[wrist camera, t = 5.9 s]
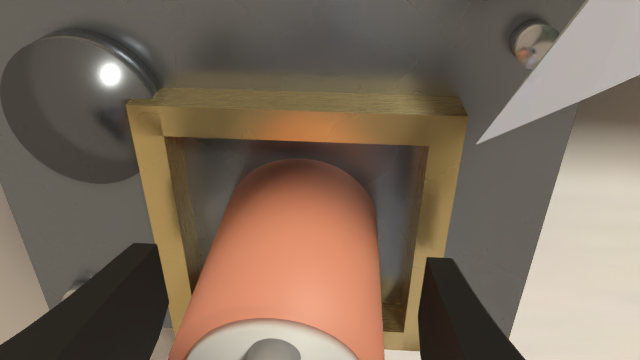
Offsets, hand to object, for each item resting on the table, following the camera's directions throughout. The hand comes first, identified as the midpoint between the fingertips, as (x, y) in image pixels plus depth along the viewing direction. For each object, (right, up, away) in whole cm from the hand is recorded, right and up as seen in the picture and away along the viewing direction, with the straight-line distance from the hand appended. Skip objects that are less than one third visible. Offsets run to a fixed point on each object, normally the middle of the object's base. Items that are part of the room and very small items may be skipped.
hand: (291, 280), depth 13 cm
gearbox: (-1, +4, +4) cm, 6 cm away
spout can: (0, +1, +2) cm, 3 cm away
